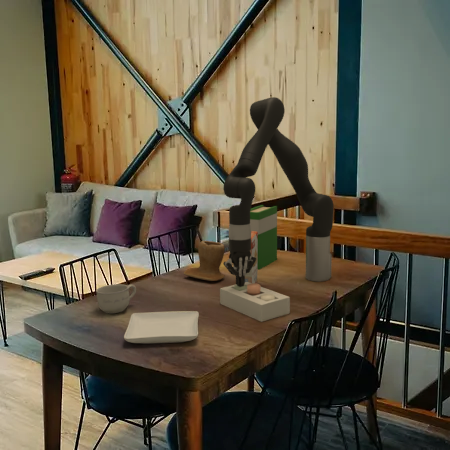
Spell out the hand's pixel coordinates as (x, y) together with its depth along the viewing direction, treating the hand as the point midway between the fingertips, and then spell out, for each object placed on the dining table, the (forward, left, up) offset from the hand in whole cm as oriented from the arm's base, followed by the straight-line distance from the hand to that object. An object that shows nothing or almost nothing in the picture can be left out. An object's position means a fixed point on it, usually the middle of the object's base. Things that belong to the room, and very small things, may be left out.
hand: (240, 286), depth 196 cm
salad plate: (+34, +6, -7) cm, 36 cm away
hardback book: (-38, -35, -6) cm, 52 cm away
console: (0, +7, -6) cm, 9 cm away
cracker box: (-11, -10, -6) cm, 16 cm away
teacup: (+36, -21, -6) cm, 42 cm away
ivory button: (0, +14, -3) cm, 14 cm away
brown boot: (-8, -32, -6) cm, 34 cm away
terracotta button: (0, +7, -1) cm, 7 cm away
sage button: (0, 0, -3) cm, 3 cm away
